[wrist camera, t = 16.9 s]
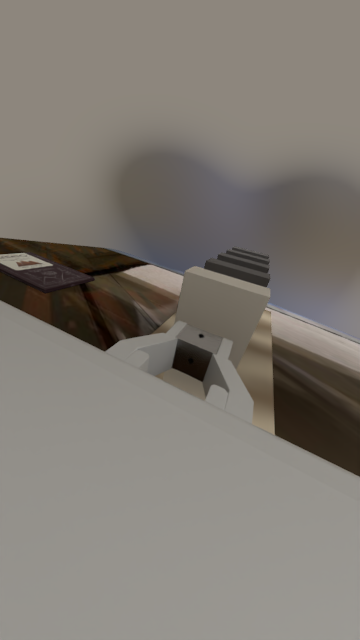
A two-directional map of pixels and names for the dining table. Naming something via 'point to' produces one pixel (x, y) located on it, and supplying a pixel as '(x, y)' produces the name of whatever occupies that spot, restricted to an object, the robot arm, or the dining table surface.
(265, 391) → the birch board
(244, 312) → the domino
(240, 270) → the domino
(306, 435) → the dining table surface
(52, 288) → the chocolate bar
